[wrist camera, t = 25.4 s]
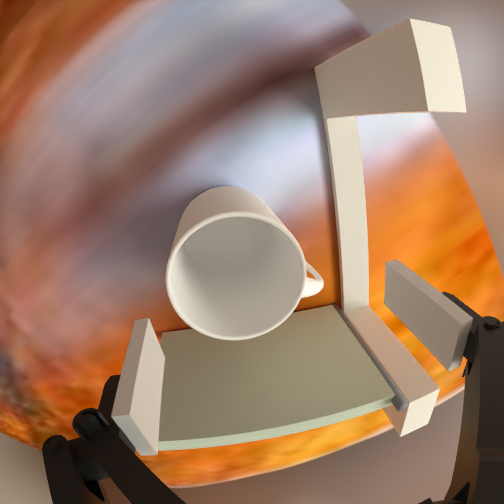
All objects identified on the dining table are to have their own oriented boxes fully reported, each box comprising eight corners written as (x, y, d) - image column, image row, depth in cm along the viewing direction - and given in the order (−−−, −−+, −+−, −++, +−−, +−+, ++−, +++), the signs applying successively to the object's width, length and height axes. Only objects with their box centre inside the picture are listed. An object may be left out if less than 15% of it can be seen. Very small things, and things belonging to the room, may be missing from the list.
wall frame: (314, 67, 25) (409, 18, 11) (343, 66, 25) (450, 27, 11) (342, 343, 35) (400, 436, 22) (364, 336, 36) (427, 423, 22)
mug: (284, 293, 32) (316, 359, 22) (167, 259, 29) (151, 322, 19) (318, 214, 29) (372, 255, 20) (196, 171, 27) (189, 191, 17)
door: (169, 350, 32) (158, 471, 18) (162, 329, 31) (145, 452, 17) (336, 322, 34) (402, 422, 20) (337, 301, 33) (410, 399, 19)
